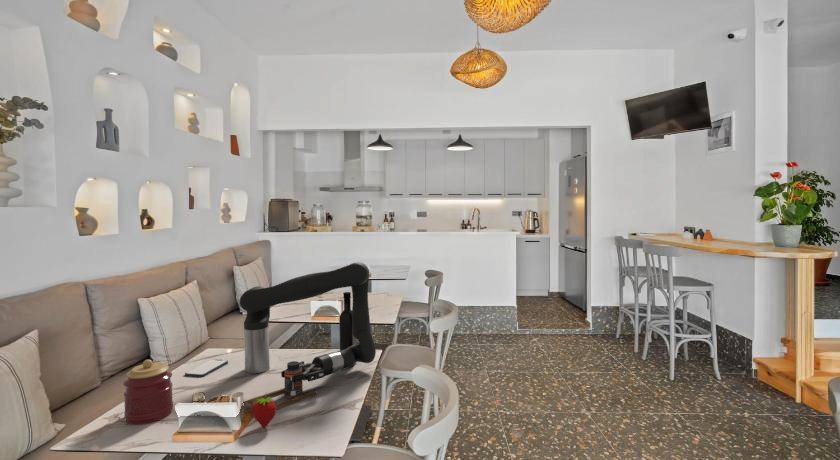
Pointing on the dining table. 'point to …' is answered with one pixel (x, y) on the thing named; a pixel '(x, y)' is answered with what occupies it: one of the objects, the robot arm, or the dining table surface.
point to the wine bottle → (346, 324)
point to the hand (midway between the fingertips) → (287, 377)
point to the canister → (148, 393)
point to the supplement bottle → (290, 387)
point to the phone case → (206, 368)
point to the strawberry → (264, 411)
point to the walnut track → (248, 403)
